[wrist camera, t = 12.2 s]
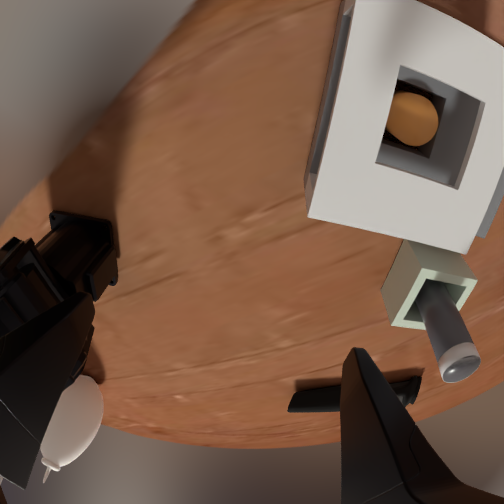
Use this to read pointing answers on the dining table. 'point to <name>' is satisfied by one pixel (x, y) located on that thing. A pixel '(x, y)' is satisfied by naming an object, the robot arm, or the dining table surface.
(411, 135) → the button
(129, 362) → the dining table surface
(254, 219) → the dining table surface
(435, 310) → the flashlight
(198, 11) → the dining table surface
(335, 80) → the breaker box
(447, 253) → the pen stand
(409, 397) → the electric trimmer
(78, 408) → the sauce bottle
